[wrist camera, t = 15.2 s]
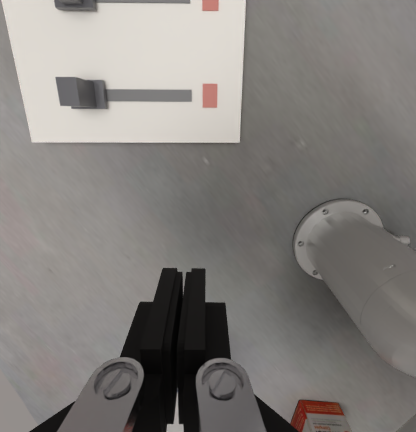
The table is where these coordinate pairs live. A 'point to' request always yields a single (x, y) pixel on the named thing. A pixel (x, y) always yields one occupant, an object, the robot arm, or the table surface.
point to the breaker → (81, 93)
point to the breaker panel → (132, 69)
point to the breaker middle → (75, 5)
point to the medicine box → (319, 417)
